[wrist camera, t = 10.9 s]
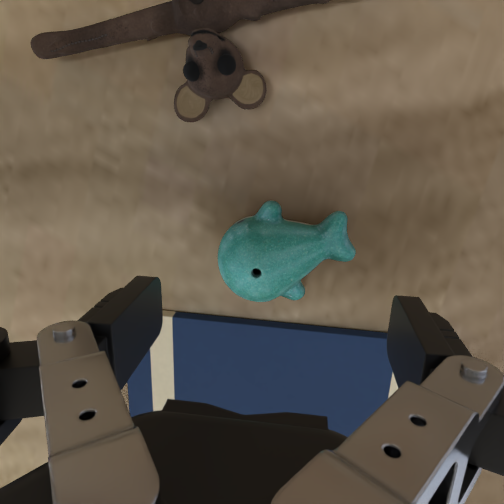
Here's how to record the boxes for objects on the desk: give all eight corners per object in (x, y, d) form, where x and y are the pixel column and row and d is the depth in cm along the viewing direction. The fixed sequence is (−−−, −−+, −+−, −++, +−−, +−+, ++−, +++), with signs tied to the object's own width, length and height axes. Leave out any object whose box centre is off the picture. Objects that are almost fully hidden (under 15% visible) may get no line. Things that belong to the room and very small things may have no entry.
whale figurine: (212, 211, 23) (194, 227, 19) (339, 179, 22) (344, 190, 18) (240, 301, 25) (227, 332, 21) (360, 278, 23) (369, 306, 19)
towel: (127, 306, 26) (121, 311, 25) (453, 338, 23) (458, 346, 23) (137, 453, 30) (132, 462, 29) (418, 495, 27) (421, 506, 26)
